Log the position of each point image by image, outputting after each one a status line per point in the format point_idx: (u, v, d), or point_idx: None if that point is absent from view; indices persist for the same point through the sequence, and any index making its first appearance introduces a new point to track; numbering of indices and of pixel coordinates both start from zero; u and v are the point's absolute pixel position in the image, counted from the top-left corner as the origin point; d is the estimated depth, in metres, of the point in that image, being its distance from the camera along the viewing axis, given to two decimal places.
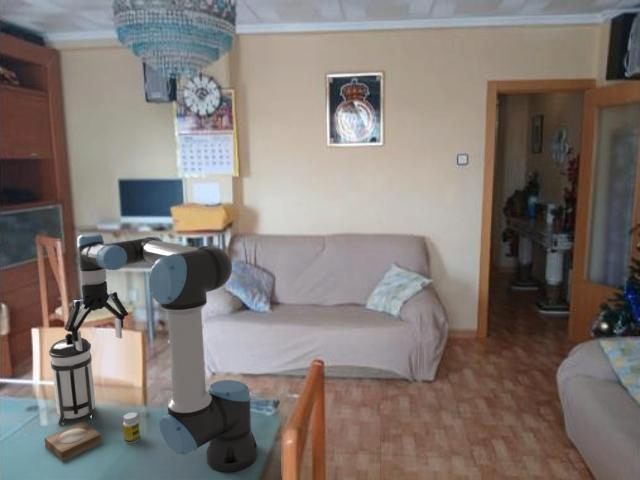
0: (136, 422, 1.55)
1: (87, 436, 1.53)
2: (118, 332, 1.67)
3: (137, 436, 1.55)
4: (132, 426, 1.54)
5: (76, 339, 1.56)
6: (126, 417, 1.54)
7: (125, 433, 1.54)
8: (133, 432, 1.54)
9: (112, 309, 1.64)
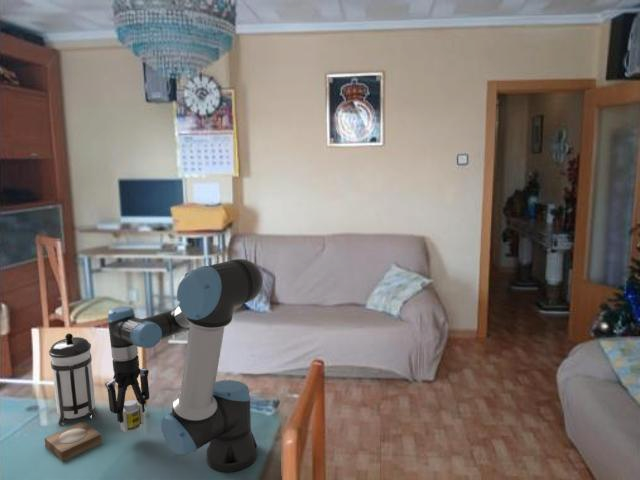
0: (136, 409, 1.54)
1: (87, 436, 1.53)
2: None
3: (137, 423, 1.54)
4: (131, 413, 1.52)
5: (121, 420, 1.51)
6: (126, 404, 1.53)
7: None
8: (133, 419, 1.53)
9: (138, 389, 1.55)
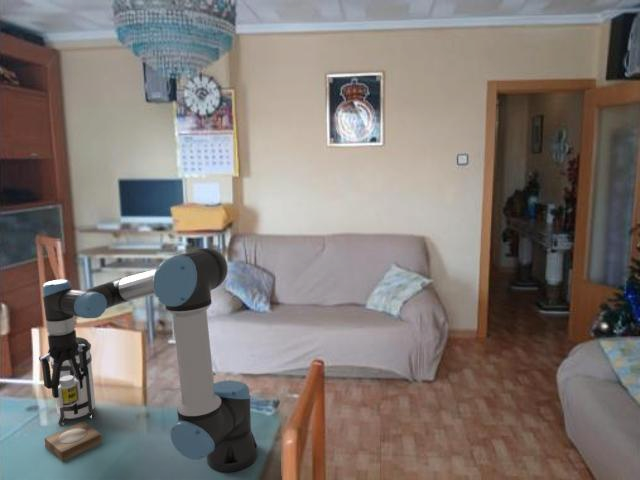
0: (72, 385, 1.50)
1: (87, 436, 1.53)
2: (77, 394, 1.53)
3: (73, 399, 1.51)
4: (67, 389, 1.49)
5: (56, 396, 1.48)
6: (62, 379, 1.49)
7: None
8: (69, 395, 1.49)
9: (75, 365, 1.51)
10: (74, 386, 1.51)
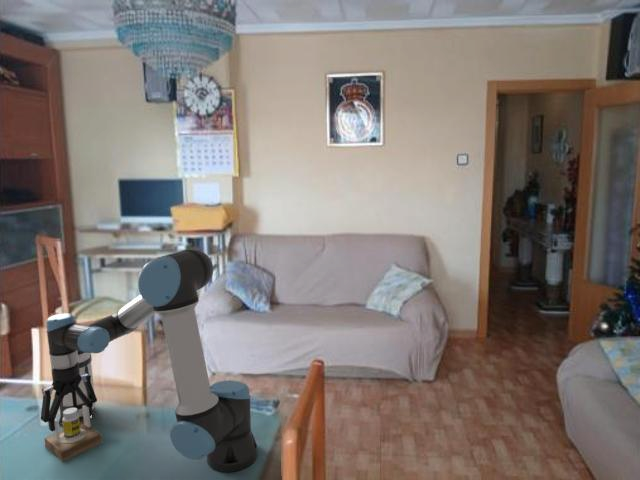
0: (76, 417, 1.52)
1: (87, 436, 1.53)
2: (86, 420, 1.56)
3: (77, 432, 1.52)
4: (71, 422, 1.51)
5: (53, 429, 1.48)
6: (65, 412, 1.51)
7: (64, 428, 1.51)
8: (73, 428, 1.51)
9: (82, 394, 1.53)
10: (78, 418, 1.52)
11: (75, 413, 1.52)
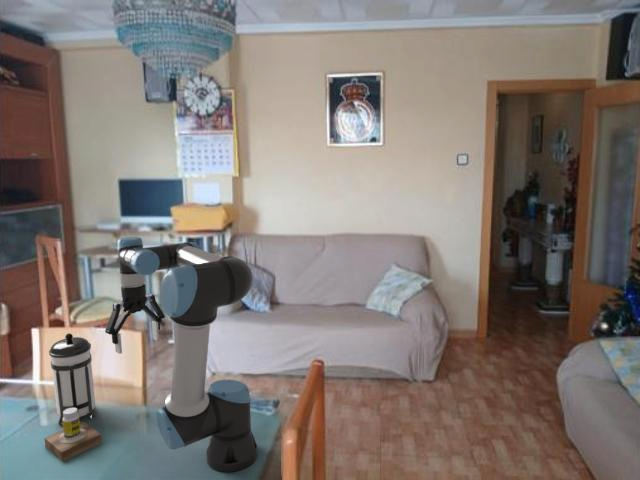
0: (76, 417, 1.52)
1: (87, 436, 1.53)
2: (155, 334, 1.68)
3: (77, 432, 1.52)
4: (71, 422, 1.51)
5: (116, 342, 1.57)
6: (65, 412, 1.51)
7: (64, 428, 1.51)
8: (73, 428, 1.51)
9: (150, 312, 1.65)
10: (78, 418, 1.52)
11: (75, 413, 1.52)
